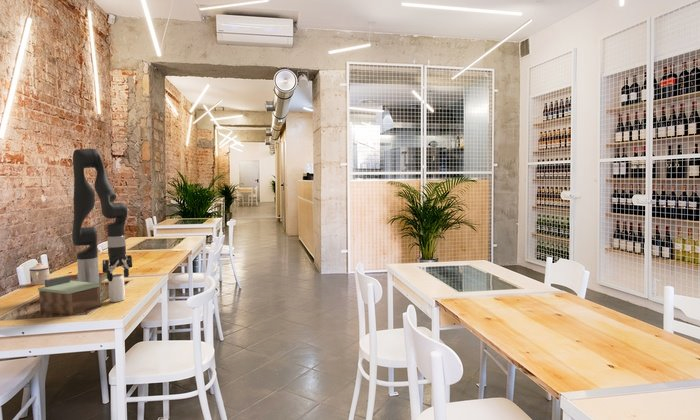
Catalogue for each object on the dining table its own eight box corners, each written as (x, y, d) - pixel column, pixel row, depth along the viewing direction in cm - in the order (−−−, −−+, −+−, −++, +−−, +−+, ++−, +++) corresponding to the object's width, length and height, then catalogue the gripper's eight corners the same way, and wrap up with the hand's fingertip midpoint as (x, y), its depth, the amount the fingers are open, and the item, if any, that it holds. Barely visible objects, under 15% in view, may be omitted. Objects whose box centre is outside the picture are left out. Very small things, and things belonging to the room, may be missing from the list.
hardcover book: (67, 281, 258) (67, 274, 257) (107, 278, 263) (107, 271, 263) (60, 286, 246) (59, 278, 246) (102, 283, 251) (101, 275, 251)
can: (118, 302, 207) (117, 276, 206) (106, 301, 208) (105, 276, 207) (128, 298, 213) (126, 274, 212) (116, 298, 214) (115, 273, 214)
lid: (38, 290, 195) (37, 281, 194) (71, 283, 208) (70, 274, 208) (67, 294, 187) (67, 284, 186) (100, 286, 200) (99, 277, 200)
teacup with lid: (32, 282, 254) (31, 262, 254) (51, 281, 258) (49, 261, 257) (27, 287, 244) (25, 266, 243) (46, 285, 247) (45, 264, 246)
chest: (40, 310, 196) (39, 290, 195) (71, 302, 208) (70, 283, 208) (70, 315, 188) (68, 294, 187) (100, 306, 200) (99, 287, 200)
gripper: (124, 242, 218) (125, 275, 219) (97, 247, 205) (99, 281, 206) (135, 243, 215) (136, 276, 216) (108, 248, 202) (110, 283, 203)
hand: (118, 279), depth 211 cm, fingers open, 8 cm apart
